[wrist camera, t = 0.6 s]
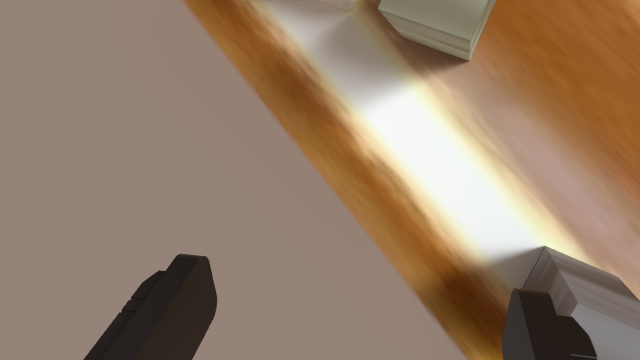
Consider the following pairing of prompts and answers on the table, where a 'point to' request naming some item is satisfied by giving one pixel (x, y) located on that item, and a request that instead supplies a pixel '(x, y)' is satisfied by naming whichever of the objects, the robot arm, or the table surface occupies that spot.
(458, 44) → the sage pillar
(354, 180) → the table surface
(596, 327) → the slate pillar
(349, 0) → the cream base block
